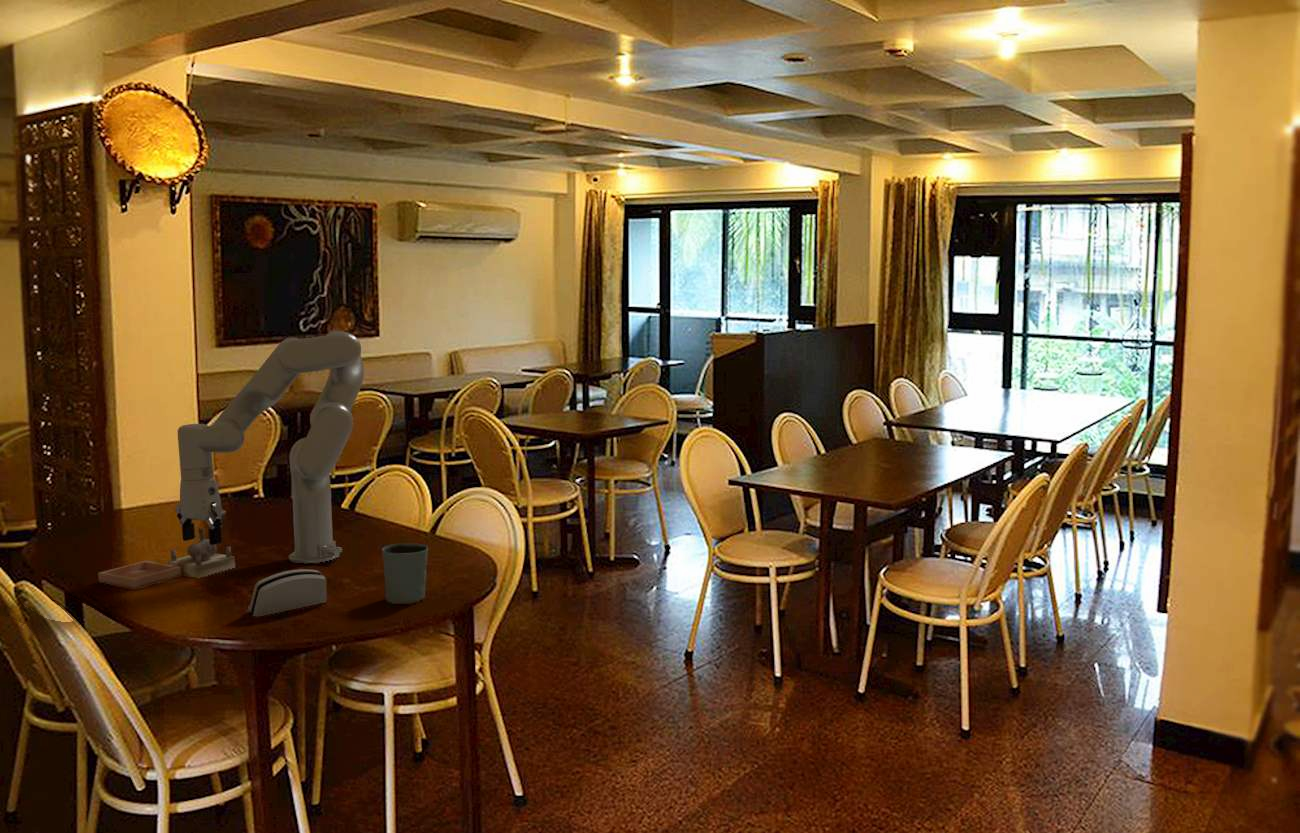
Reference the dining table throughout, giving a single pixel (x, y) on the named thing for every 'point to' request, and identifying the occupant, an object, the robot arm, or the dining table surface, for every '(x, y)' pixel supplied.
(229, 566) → the peg rest
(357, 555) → the dining table surface
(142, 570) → the terracotta dish
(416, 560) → the grey green cup
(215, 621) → the dining table surface
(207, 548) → the garlic bulb
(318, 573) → the grey arched block
